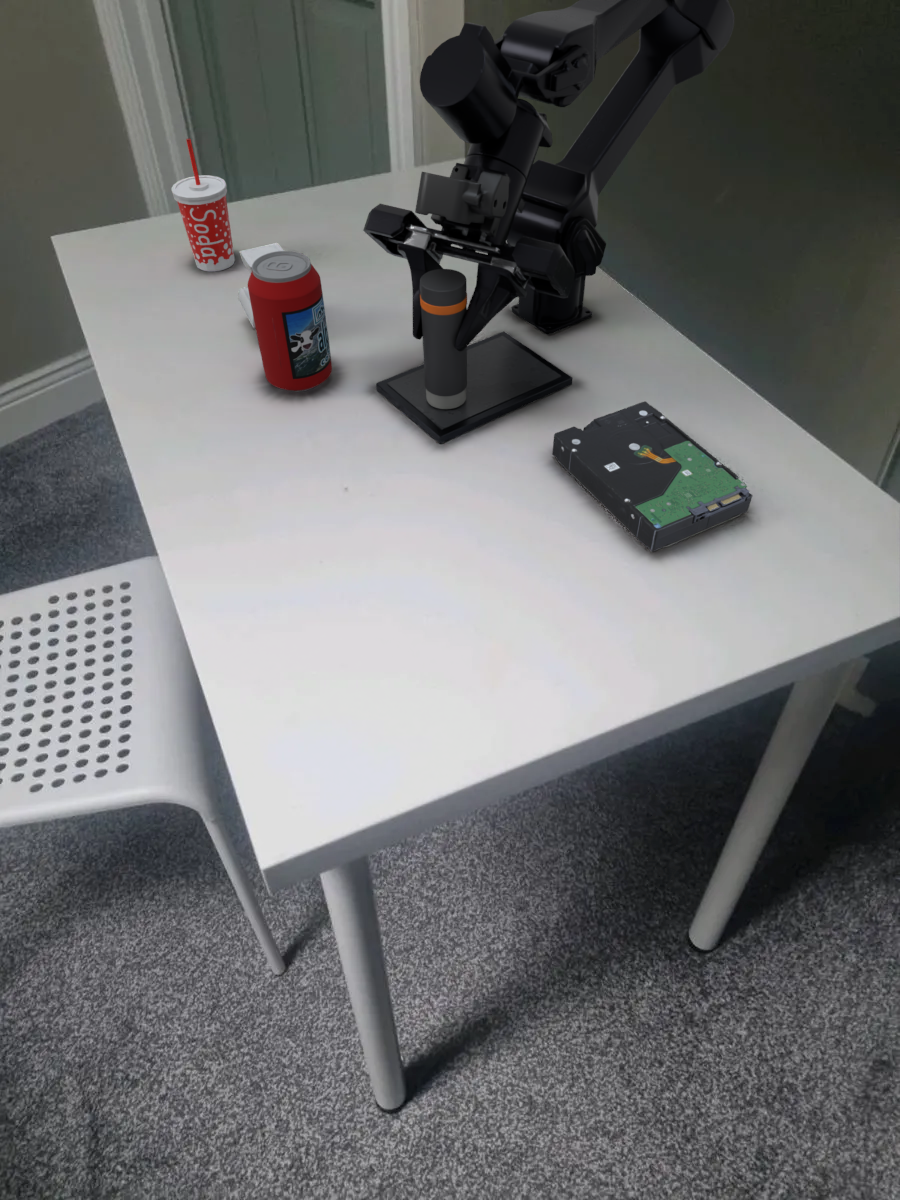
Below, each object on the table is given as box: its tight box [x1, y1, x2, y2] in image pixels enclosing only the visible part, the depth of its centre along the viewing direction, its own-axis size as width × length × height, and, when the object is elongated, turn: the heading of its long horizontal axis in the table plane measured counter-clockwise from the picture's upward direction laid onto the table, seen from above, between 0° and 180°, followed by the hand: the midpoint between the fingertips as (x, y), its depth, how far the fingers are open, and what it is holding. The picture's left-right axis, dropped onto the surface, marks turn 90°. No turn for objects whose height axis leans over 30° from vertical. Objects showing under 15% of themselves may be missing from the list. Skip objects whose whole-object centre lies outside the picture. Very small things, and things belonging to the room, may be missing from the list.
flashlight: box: [420, 268, 468, 409], centre depth 81 cm, size 4×4×12 cm
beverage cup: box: [170, 137, 236, 272], centre depth 102 cm, size 6×6×14 cm
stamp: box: [237, 242, 285, 331], centre depth 94 cm, size 9×7×8 cm
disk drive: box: [551, 401, 753, 552], centre depth 77 cm, size 10×3×15 cm
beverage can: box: [247, 250, 333, 392], centre depth 86 cm, size 7×7×12 cm
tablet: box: [375, 330, 573, 445], centre depth 88 cm, size 16×11×1 cm
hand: (436, 343), depth 80 cm, fingers closed on flashlight, 4 cm apart
